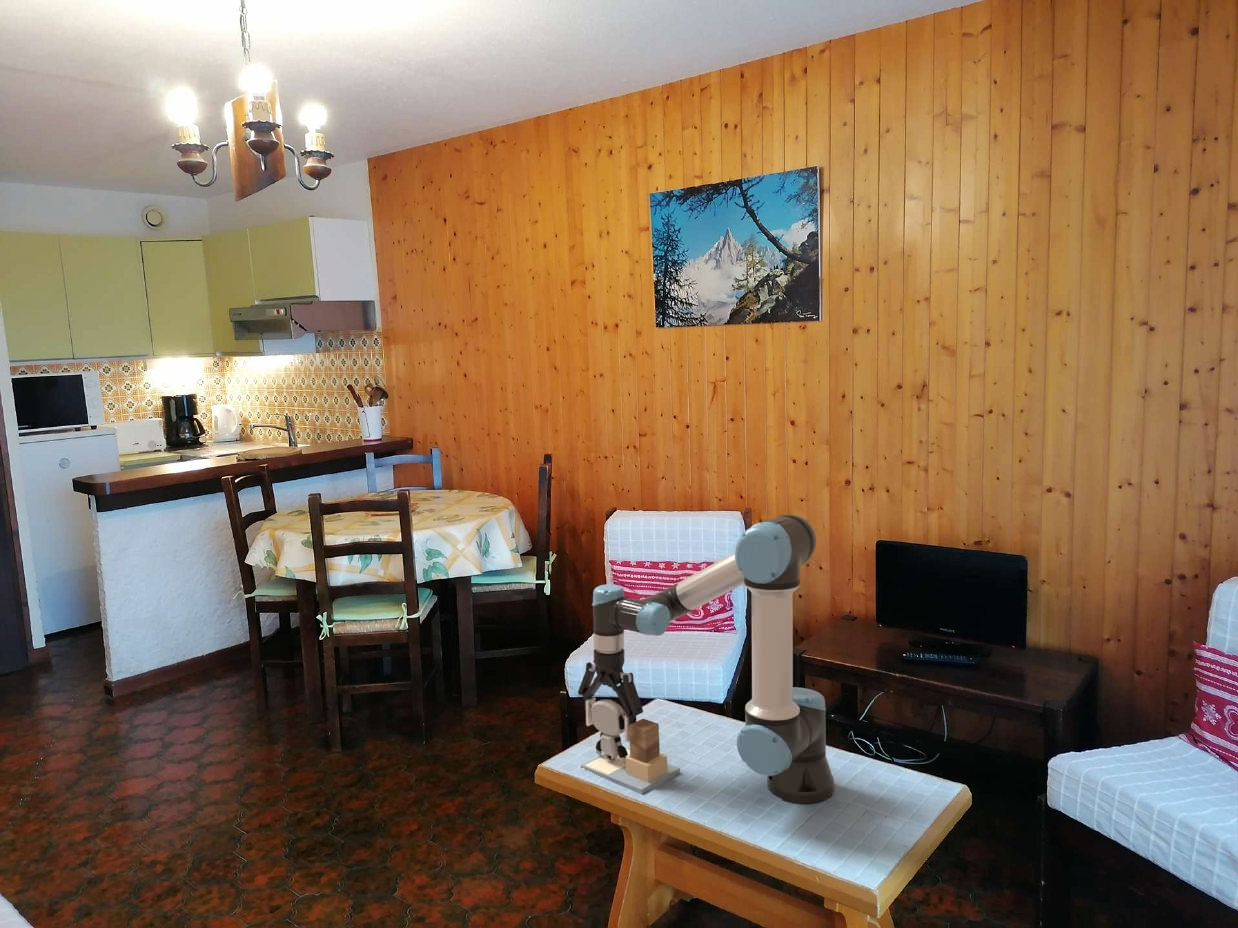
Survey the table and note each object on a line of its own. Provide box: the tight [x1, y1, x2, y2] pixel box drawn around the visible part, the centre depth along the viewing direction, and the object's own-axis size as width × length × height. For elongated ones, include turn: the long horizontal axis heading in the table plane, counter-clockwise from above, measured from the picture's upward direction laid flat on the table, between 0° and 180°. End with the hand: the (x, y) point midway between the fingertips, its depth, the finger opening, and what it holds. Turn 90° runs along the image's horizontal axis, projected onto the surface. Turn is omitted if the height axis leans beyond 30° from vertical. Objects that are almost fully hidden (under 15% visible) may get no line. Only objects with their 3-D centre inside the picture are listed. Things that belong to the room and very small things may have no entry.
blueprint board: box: [580, 747, 681, 795], centre depth 213 cm, size 20×14×5 cm
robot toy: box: [588, 698, 628, 764], centre depth 216 cm, size 12×4×15 cm, turn 45°
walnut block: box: [629, 718, 661, 763], centre depth 209 cm, size 5×5×8 cm
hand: (610, 731), depth 216 cm, fingers closed on robot toy, 13 cm apart
